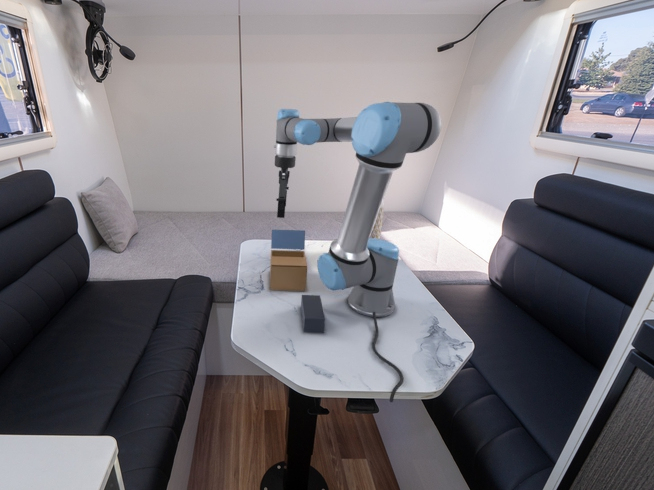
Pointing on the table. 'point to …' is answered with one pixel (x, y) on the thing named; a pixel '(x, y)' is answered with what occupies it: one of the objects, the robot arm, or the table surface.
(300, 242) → the flap
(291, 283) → the carton
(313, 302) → the case
